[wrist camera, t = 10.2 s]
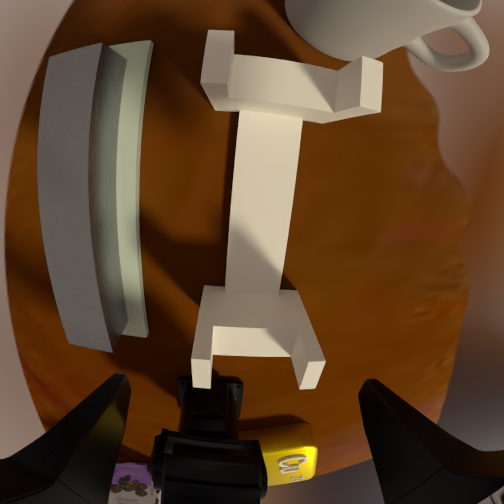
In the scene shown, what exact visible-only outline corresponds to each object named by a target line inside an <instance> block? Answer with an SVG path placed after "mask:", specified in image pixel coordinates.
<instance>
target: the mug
mask: <svg viewBox="0 0 504 504" xmlns="http://www.w3.org/2000/svg"><path fill="white" fill-rule="evenodd" d="M481 5H482V0H285V11H286V15H287V18H288V20H289V22H290V24H291V25H292V27H293V29H294V30H295V31H296V32H297V34H298V35H299V36H300V37H301V38H302V39H303V40H305V41H306V42H307V43H308V44H309V45H311V46H312V47H314V48H315V49H317V50H319V51H320V52H322V53H324V54H326V55H329V56H331V57H334V58H337V59H341V60H345V61H354V60H356V59H357V58H359V57H361V56H365V57H368V58H371V59H374V58H377V57H379V56H381V55H383V54H385V53H387V52H389V51H391V50H393V49H396V48H398V47H401V46H403V47H405V48H406V49H407V50H408V51H409V52H411V53H412V54H413V55H414V56H416V58H418V59H419V60H420V61H421V62H423V63H425V64H426V65H428V66H430V67H431V68H434V69H436V70H441V71H450V72H452V71H464V70H469V69H472V68H474V67H477V66H479V65H480V64H482V63H484V62H485V60H486V59H487V58H488V55H489V44H488V41H487V39H486V37H485V35H484V34H483V32H482V30H481V29H480V28H479V26H478V25H477V23H476V22H475V21H474V19H473V18H472V16H474V15H476V14H477V13H478V12H479V11H480V9H481ZM446 27H450V28H451V29H453V30H454V31H456V32H457V33H458V34H459V35H460V36H461V37H462V38H463V39H464V40H465V41H466V42H467V44H468V46H469V48H470V49H469V50H468V51H467V52H465V53H462V54H457V55H446V54H442V53H439V52H437V51H435V50H434V49H432V48H431V47H430V46H429V45H428V44H427V43H426V42H425V41H424V40H423V39H422V38H421V36H423V35H425V34H428V33H430V32H433V31H436V30H439V29H442V28H446Z"/></svg>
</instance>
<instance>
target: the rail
mask: <svg viewBox="0 0 504 504" xmlns="http://www.w3.org/2000/svg"><path fill="white" fill-rule="evenodd" d="M126 64H127V59H125V58H124V57H122V56H121V55H120V54H118V53H117V52H115V51H114V50H113V49H111V48H110V47H108V46H107V45H106V44H104V43H98V44H94V45H90V46H85V47H82V48H78V49H74V50H71V51H67V52H64V53H61V54H57V55H54V56H51V57H49V61H48V66H47V71H46V76H45V81H44V87H43V94H42V101H41V109H40V119H39V132H38V195H39V209H40V219H41V228H42V235H43V242H44V248H45V254H46V260H47V265H48V270H49V275H50V279H51V284H52V288H53V292H54V296H55V300H56V303H57V307H58V311H59V314H60V317H61V321H62V324H63V327H64V330H65V333H66V336H67V339H68V342H69V343H70V344H75V345H79V346H83V347H88V348H92V349H97V350H102V351H107V352H112V353H113V351H114V349H115V347H116V345H117V343H118V341H119V339H120V337H121V335H122V333H123V331H124V329H125V327H126V325H127V323H128V317H127V311H126V304H125V298H124V291H123V283H122V275H121V266H120V256H119V244H118V229H117V204H116V165H117V141H118V127H119V115H120V106H121V97H122V89H123V82H124V76H125V70H126Z"/></svg>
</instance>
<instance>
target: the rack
mask: <svg viewBox="0 0 504 504" xmlns="http://www.w3.org/2000/svg"><path fill="white" fill-rule="evenodd" d="M382 80H383V63H382V62H380V61H377V60H374V59H371V58H368V57H365V56H361V57H359V58H357V59H356V60H354V61H353V62H351V63H349V64H348V65H346V66H345V67H343V68H342V69H340V70H338V71H335V70H331V69H327V68H323V67H318V66H314V65H309V64H304V63H299V62H293V61H287V60H281V59H274V58H266V57H258V56H248V55H236V54H234V31H226V30H208V34H207V40H206V46H205V53H204V59H203V66H202V74H201V81H200V83H201V85H202V87H203V89H204V91H205V93H206V94H207V96H208V98H209V100H210V102H211V104H212V106H213V108H214V110H215V111H231V112H240V113H239V122H238V132H237V142H236V153H235V163H234V174H233V186H232V198H231V210H230V223H229V236H228V250H227V265H226V280H225V287H223V286H209V285H204V288H203V294H202V299H201V304H200V310H199V315H198V321H197V327H196V332H195V338H194V344H193V350H192V356H191V365H192V380H193V387H196V388H208V389H210V387H211V372H212V358H213V354H214V355H232V356H264V357H291V358H292V362H293V366H294V370H295V374H296V378H297V382H298V386H299V389H314V388H316V385H317V383H318V380H319V378H320V375H321V372H322V370H323V367H324V364H325V362H326V360H325V358H324V355H323V353H322V350H321V348H320V345H319V343H318V340H317V338H316V335H315V333H314V330H313V328H312V325H311V323H310V320H309V318H308V315H307V313H306V311H305V308H304V306H303V303H302V301H301V298H300V296H299V294H298V291H297V290H280V284H281V278H282V271H283V265H284V259H285V252H286V245H287V239H288V232H289V225H290V218H291V210H292V203H293V196H294V188H295V180H296V172H297V164H298V156H299V147H300V138H301V129H302V120H306V121H311V122H317V123H322V124H323V123H327V122H332V121H336V120H341V119H346V118H351V117H356V116H362V115H367V114H373V113H379V112H381V100H382Z"/></svg>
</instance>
